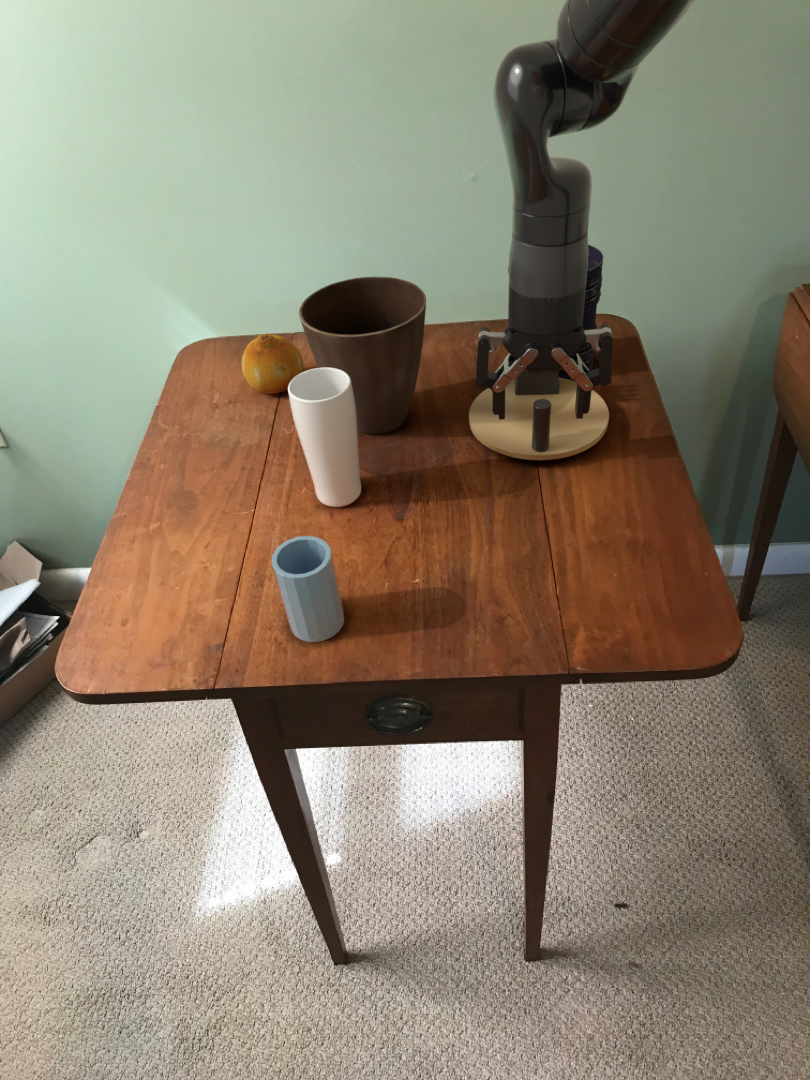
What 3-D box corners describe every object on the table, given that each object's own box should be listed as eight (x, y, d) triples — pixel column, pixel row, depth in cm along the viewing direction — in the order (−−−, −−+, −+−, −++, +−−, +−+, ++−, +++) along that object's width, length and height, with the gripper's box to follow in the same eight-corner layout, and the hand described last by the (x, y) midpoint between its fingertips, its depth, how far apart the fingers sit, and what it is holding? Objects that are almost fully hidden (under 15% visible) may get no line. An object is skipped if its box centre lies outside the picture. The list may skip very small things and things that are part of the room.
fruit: (264, 398, 102) (273, 336, 99) (225, 385, 106) (233, 326, 104) (309, 400, 108) (318, 343, 106) (270, 388, 113) (278, 333, 110)
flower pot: (297, 431, 100) (272, 317, 89) (367, 376, 108) (352, 266, 97) (388, 466, 93) (374, 347, 82) (456, 405, 101) (451, 290, 90)
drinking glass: (373, 476, 92) (357, 366, 81) (362, 514, 87) (344, 402, 76) (318, 475, 93) (295, 366, 82) (304, 512, 88) (279, 401, 77)
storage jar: (520, 381, 104) (523, 275, 94) (522, 344, 111) (524, 242, 101) (596, 381, 102) (607, 273, 92) (592, 344, 109) (602, 239, 99)
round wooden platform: (470, 382, 102) (469, 336, 97) (601, 379, 100) (606, 331, 95) (466, 461, 90) (465, 412, 85) (615, 459, 88) (622, 409, 83)
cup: (333, 593, 78) (318, 528, 72) (352, 629, 75) (339, 564, 68) (282, 612, 77) (264, 548, 71) (300, 650, 73) (282, 586, 67)
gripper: (473, 297, 73) (476, 435, 85) (626, 292, 72) (608, 434, 83) (475, 263, 79) (477, 397, 90) (617, 258, 77) (601, 395, 88)
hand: (540, 415), depth 86 cm, fingers open, 8 cm apart
